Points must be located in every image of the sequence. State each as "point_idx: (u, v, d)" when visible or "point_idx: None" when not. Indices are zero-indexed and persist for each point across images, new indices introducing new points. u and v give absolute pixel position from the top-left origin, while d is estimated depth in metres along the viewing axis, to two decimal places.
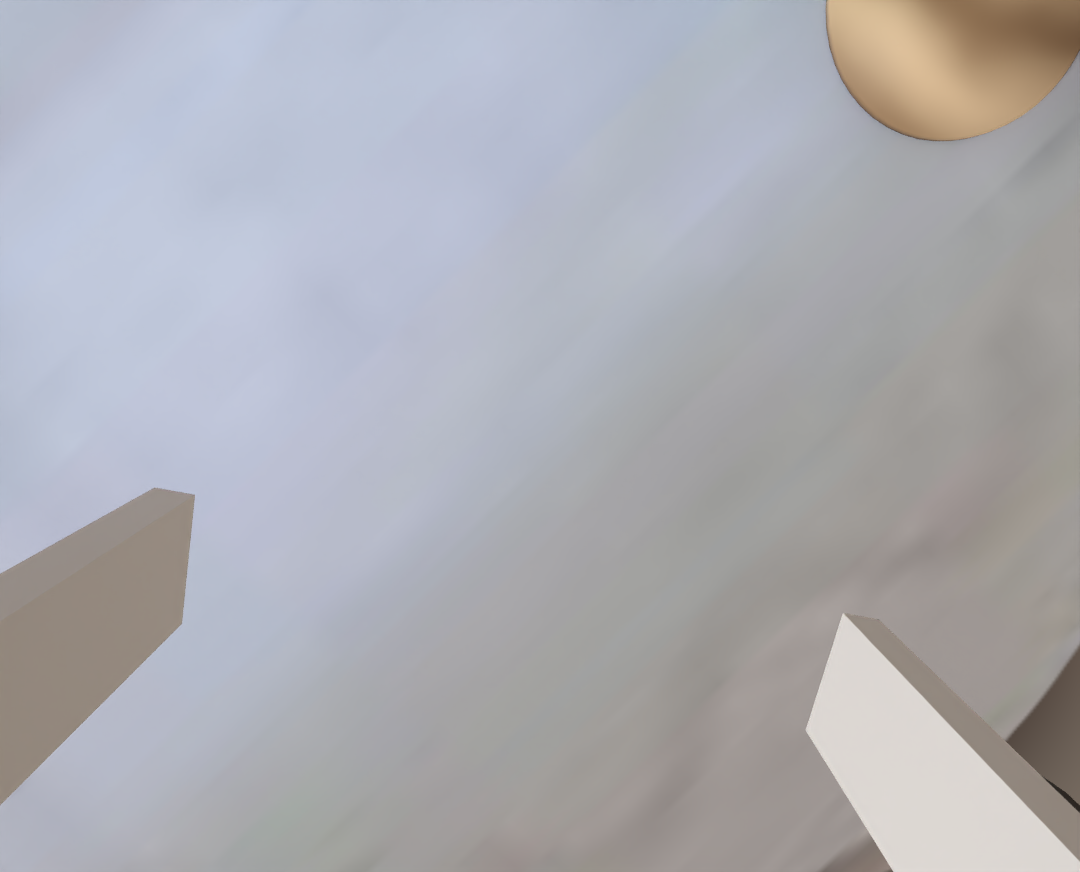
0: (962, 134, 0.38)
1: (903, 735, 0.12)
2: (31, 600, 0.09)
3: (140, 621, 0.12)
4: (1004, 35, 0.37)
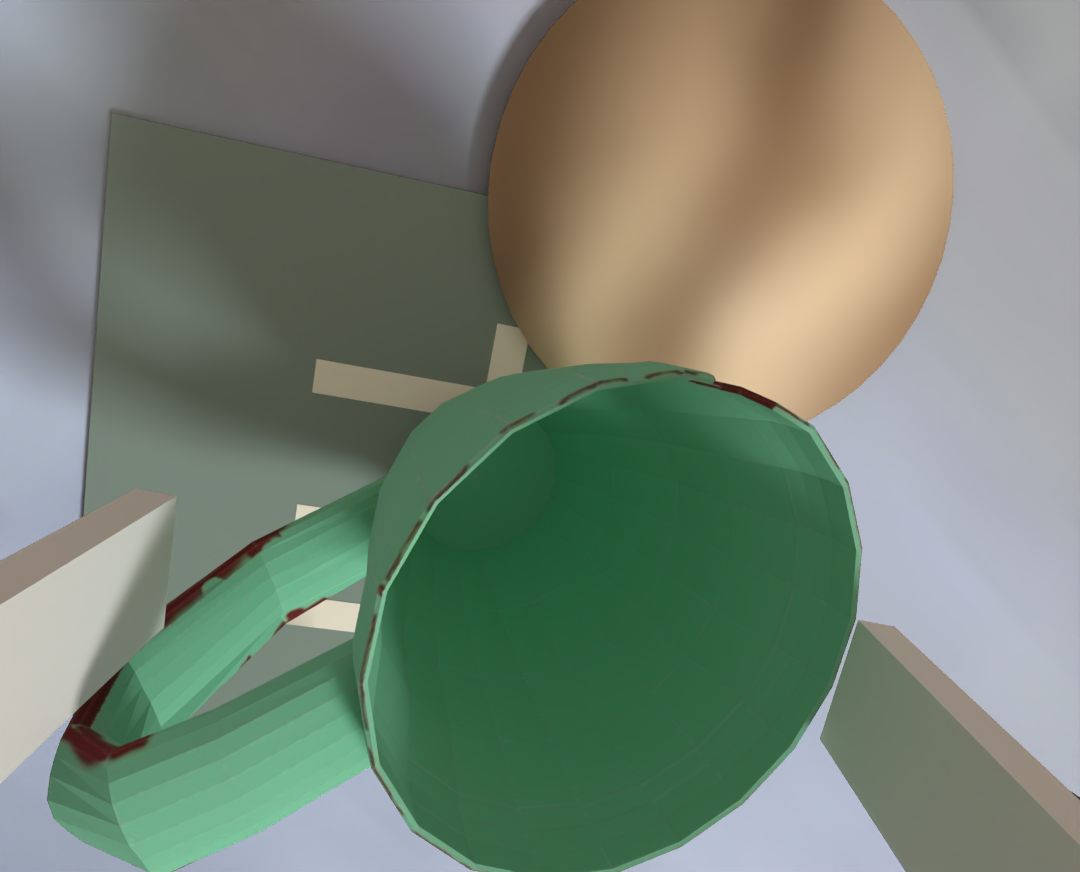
0: (947, 185, 0.21)
1: (924, 747, 0.11)
2: None
3: (119, 625, 0.12)
4: (796, 123, 0.20)
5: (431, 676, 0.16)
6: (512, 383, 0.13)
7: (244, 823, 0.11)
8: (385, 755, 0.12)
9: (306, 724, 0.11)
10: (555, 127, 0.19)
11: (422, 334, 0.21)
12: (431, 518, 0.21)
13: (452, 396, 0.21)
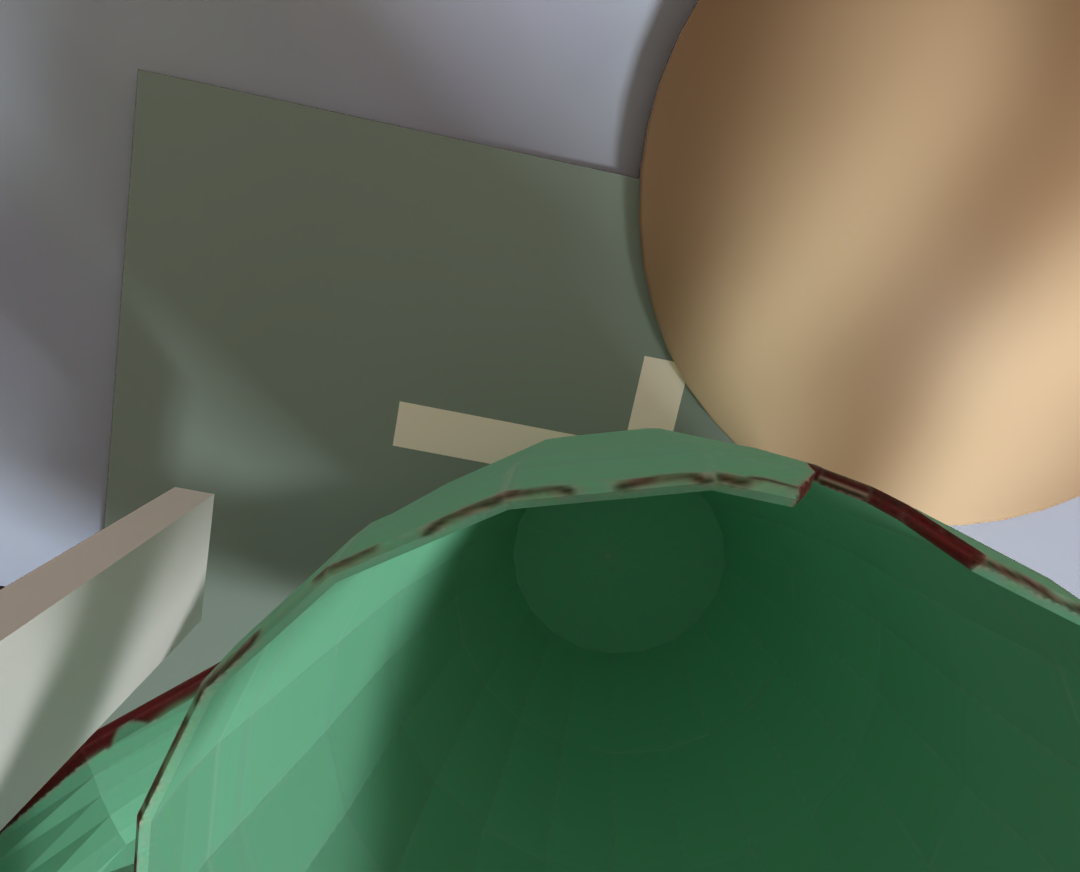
0: None
1: None
2: (64, 596, 0.09)
3: (163, 618, 0.12)
4: None
5: (456, 853, 0.11)
6: (499, 461, 0.08)
7: None
8: None
9: None
10: (743, 80, 0.14)
11: (541, 370, 0.15)
12: (547, 605, 0.16)
13: None
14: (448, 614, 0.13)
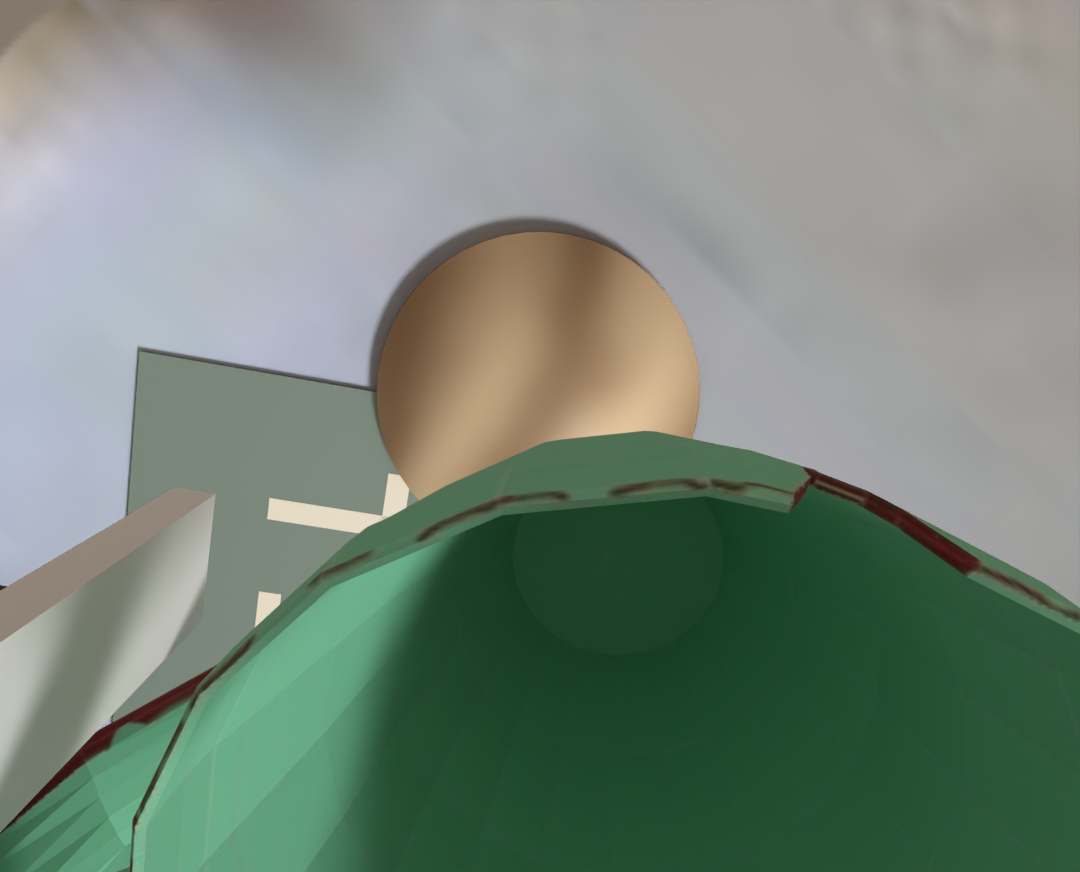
0: (695, 378, 0.31)
1: None
2: (66, 596, 0.09)
3: (164, 618, 0.12)
4: (583, 343, 0.30)
5: (454, 856, 0.11)
6: (496, 464, 0.08)
7: None
8: None
9: None
10: (419, 352, 0.30)
11: (338, 481, 0.31)
12: (547, 606, 0.16)
13: (360, 520, 0.32)
14: (447, 616, 0.13)
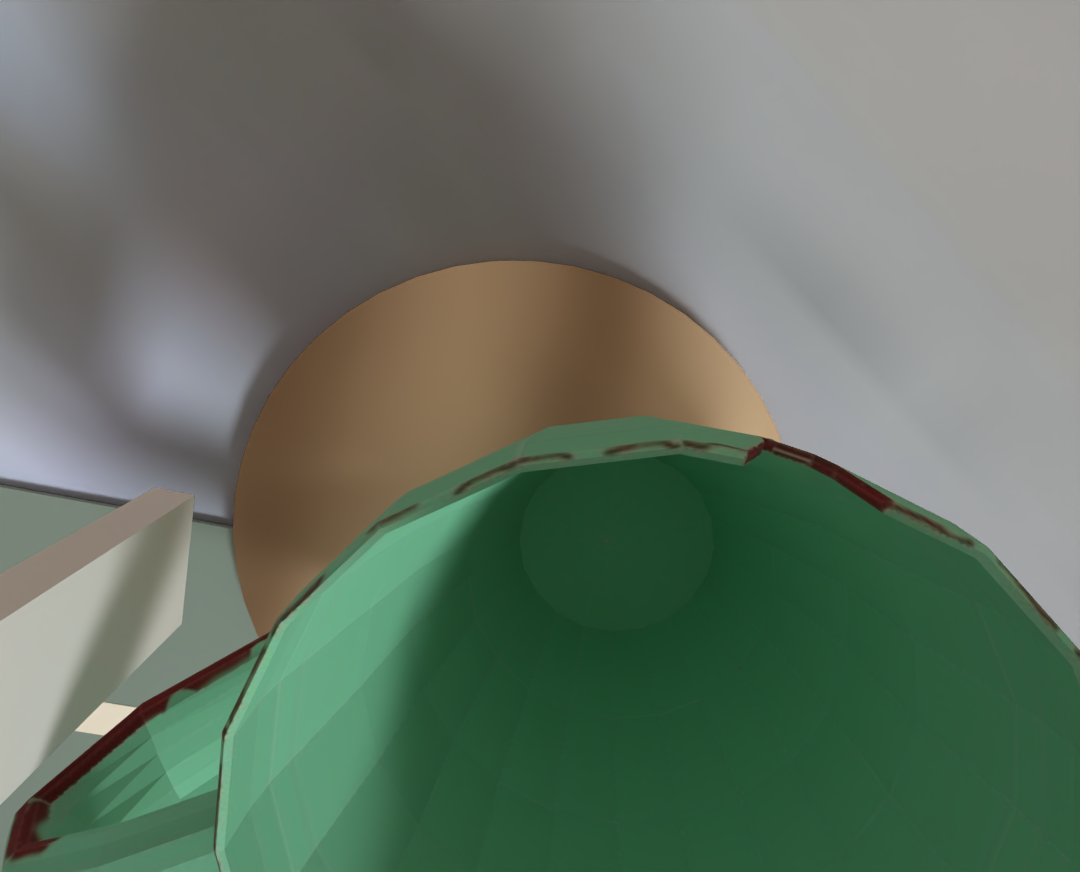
0: None
1: None
2: (31, 600, 0.09)
3: (140, 621, 0.12)
4: None
5: (475, 801, 0.13)
6: None
7: None
8: None
9: (201, 870, 0.09)
10: (305, 466, 0.17)
11: (177, 671, 0.19)
12: (552, 587, 0.17)
13: None
14: (462, 592, 0.15)
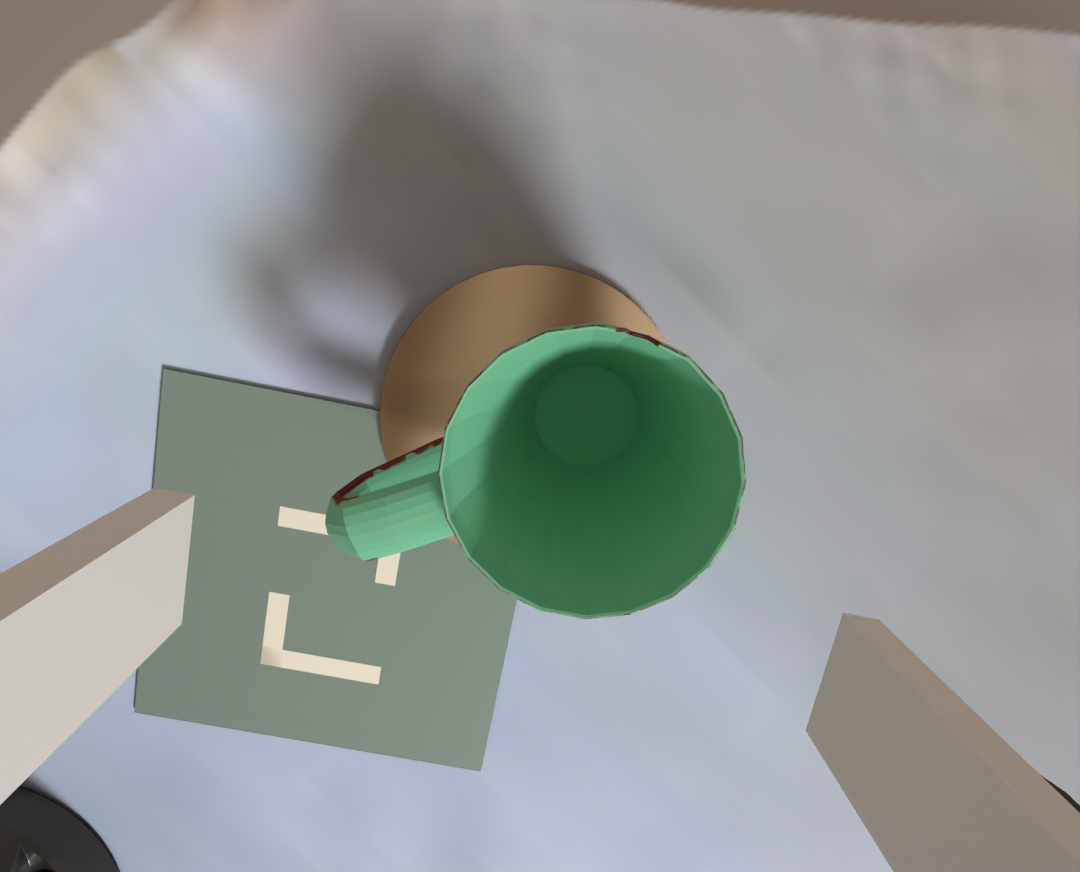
0: None
1: (903, 735, 0.12)
2: (31, 600, 0.09)
3: (140, 621, 0.12)
4: None
5: (518, 516, 0.27)
6: None
7: (395, 540, 0.24)
8: (459, 522, 0.24)
9: (423, 498, 0.24)
10: (419, 375, 0.32)
11: None
12: (552, 441, 0.32)
13: None
14: (508, 431, 0.29)
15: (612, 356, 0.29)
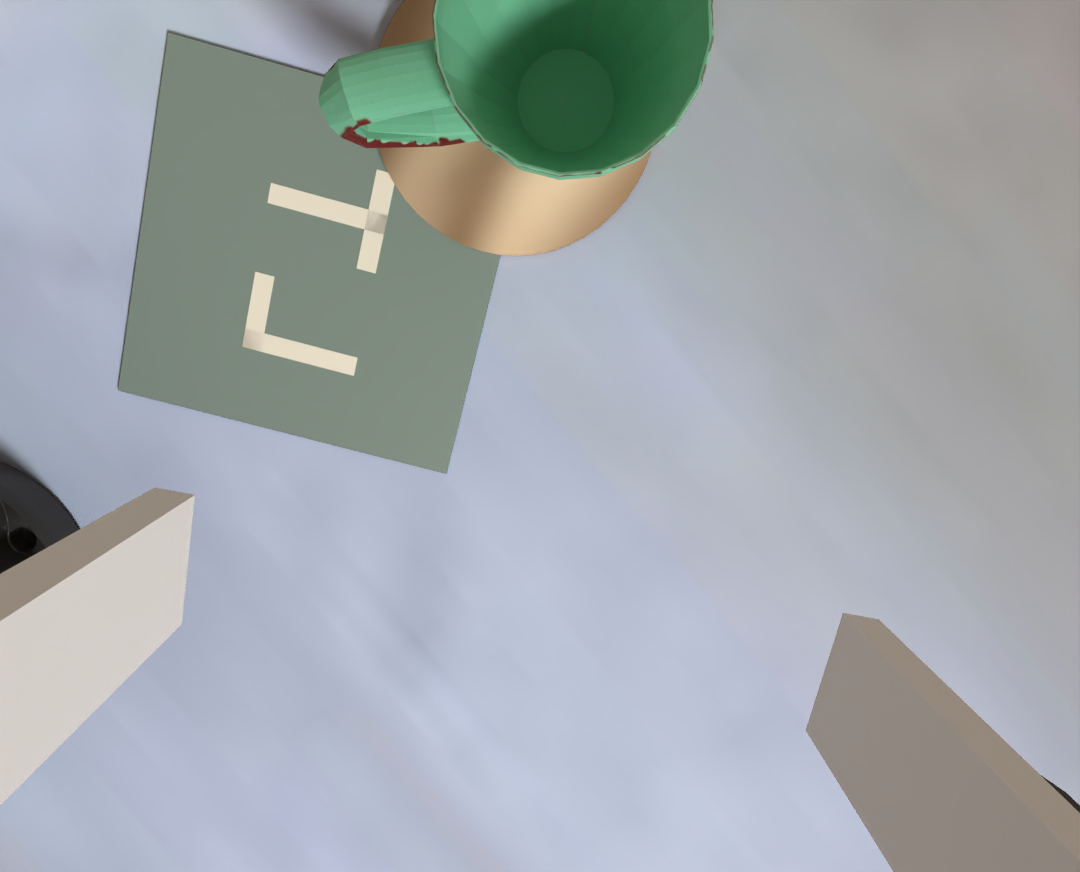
0: None
1: (903, 736, 0.12)
2: (31, 600, 0.09)
3: (140, 621, 0.12)
4: None
5: (499, 139, 0.29)
6: None
7: (386, 95, 0.25)
8: (448, 81, 0.25)
9: (415, 56, 0.25)
10: None
11: (332, 173, 0.35)
12: (532, 125, 0.34)
13: (348, 212, 0.36)
14: (493, 84, 0.31)
15: (594, 16, 0.31)
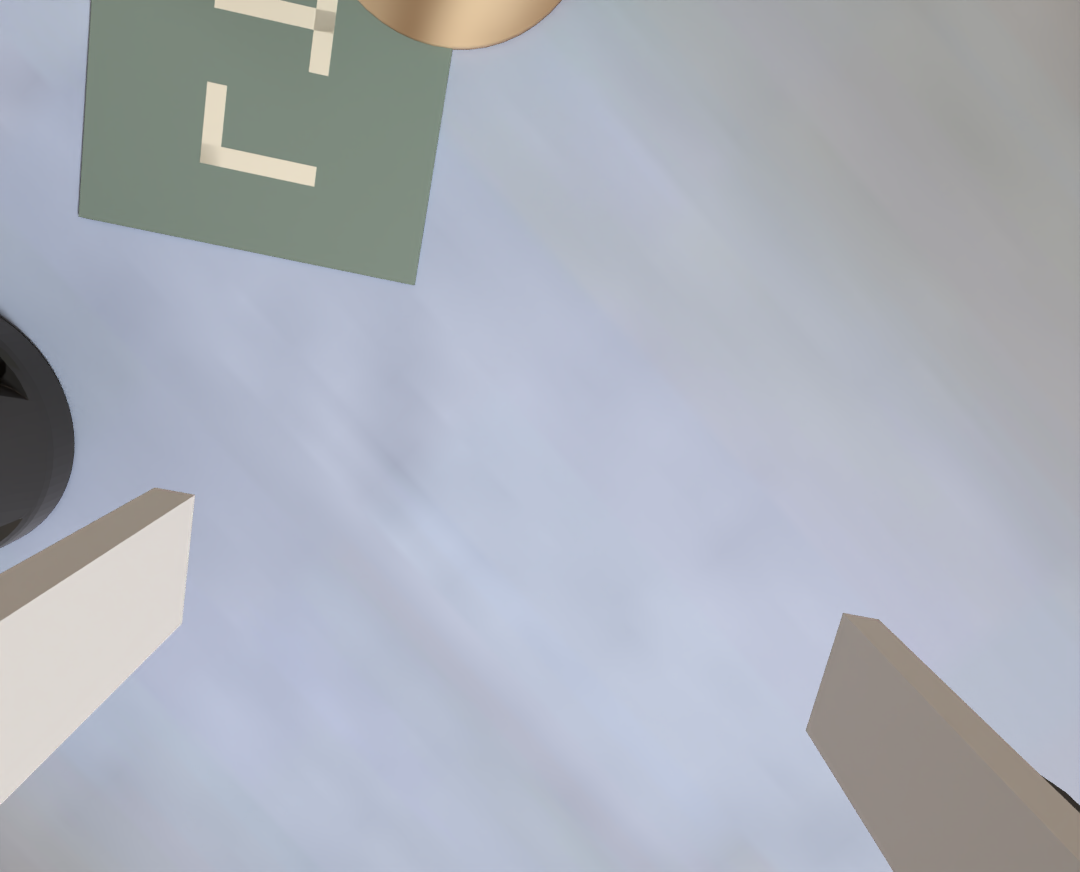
0: None
1: (903, 736, 0.12)
2: (31, 600, 0.09)
3: (140, 621, 0.12)
4: None
5: None
6: None
7: None
8: None
9: None
10: None
11: None
12: None
13: (296, 12, 0.35)
14: None
15: None
